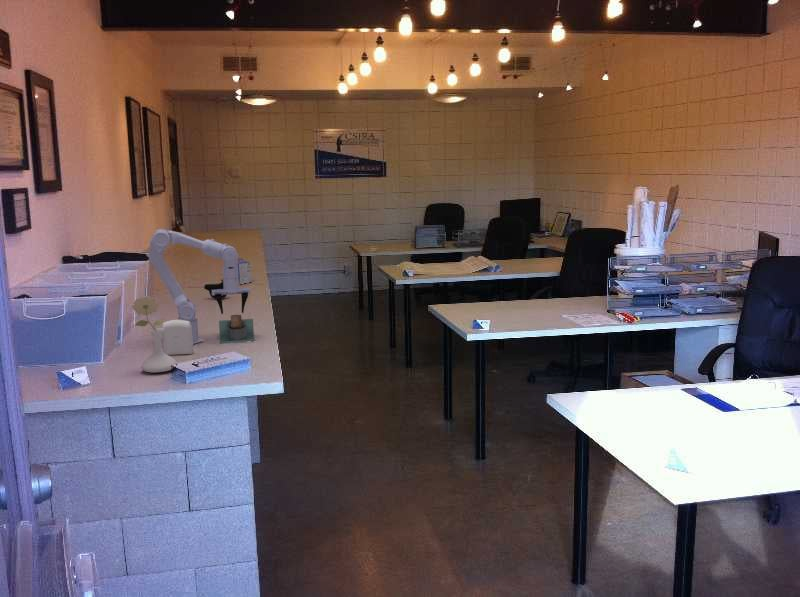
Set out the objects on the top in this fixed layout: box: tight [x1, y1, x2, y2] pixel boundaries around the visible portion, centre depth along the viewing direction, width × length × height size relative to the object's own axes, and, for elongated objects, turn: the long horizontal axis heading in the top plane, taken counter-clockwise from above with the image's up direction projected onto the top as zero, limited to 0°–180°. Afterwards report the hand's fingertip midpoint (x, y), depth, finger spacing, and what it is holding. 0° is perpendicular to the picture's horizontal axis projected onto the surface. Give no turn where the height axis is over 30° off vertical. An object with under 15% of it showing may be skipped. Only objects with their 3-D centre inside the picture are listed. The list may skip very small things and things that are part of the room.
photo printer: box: [161, 319, 194, 356], centre depth 260 cm, size 10×4×12 cm, turn 96°
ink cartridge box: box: [237, 257, 253, 285], centre depth 419 cm, size 10×6×14 cm, turn 148°
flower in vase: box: [131, 295, 178, 373], centre depth 237 cm, size 13×11×25 cm
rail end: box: [230, 314, 243, 329], centre depth 280 cm, size 4×4×8 cm
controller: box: [203, 278, 227, 300], centre depth 369 cm, size 4×12×10 cm, turn 100°
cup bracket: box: [218, 318, 256, 345], centre depth 282 cm, size 10×13×7 cm
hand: (232, 312), depth 281 cm, fingers open, 7 cm apart
